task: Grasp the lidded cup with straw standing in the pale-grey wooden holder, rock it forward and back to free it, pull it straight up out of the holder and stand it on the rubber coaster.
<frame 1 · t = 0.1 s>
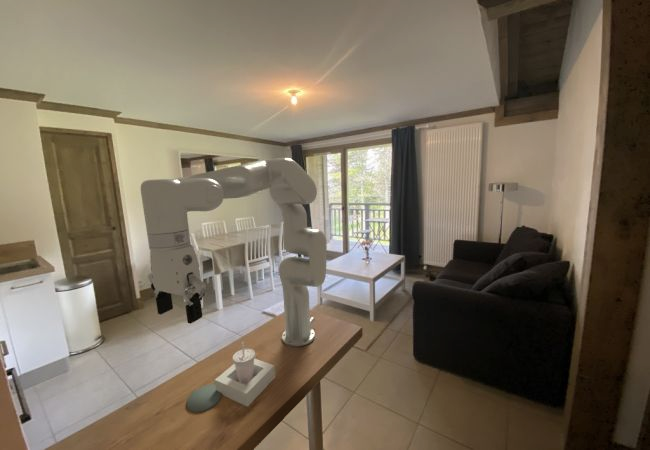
hand: (180, 315, 58), 31 cm above the table, fingers open, 9 cm apart
coaster: (204, 398, 75), on the table
holder: (246, 384, 80), on the table
lidded cup with straw: (246, 384, 80), resting in holder
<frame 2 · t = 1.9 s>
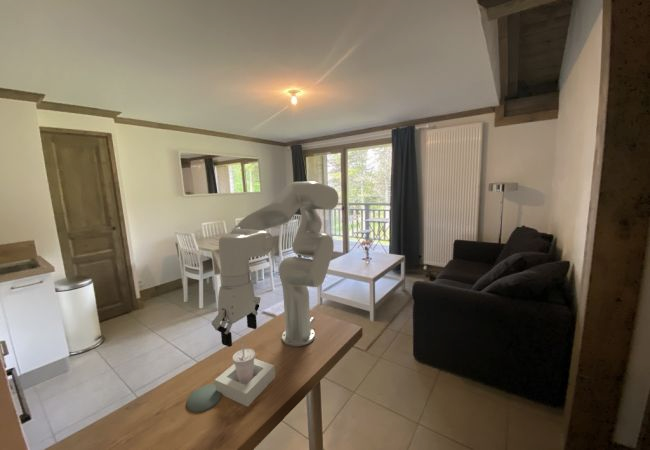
hand: (240, 336, 76), 16 cm above the table, fingers open, 9 cm apart
nothing on the table moved.
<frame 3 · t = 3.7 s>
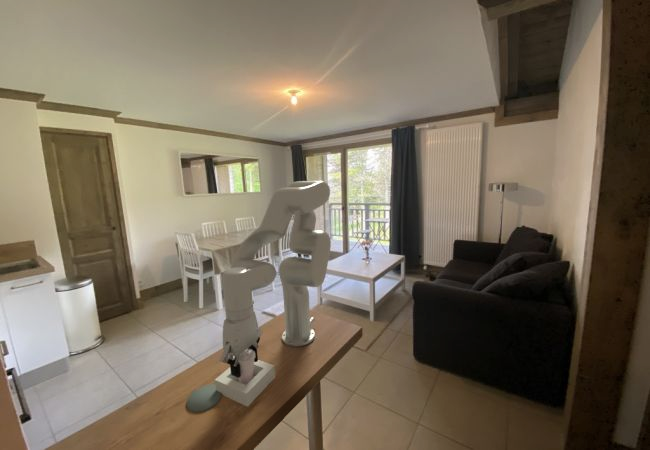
hand: (244, 367, 79), 6 cm above the table, fingers closed on lidded cup with straw, 6 cm apart
lidded cup with straw: (246, 384, 80), resting in holder, touching gripper
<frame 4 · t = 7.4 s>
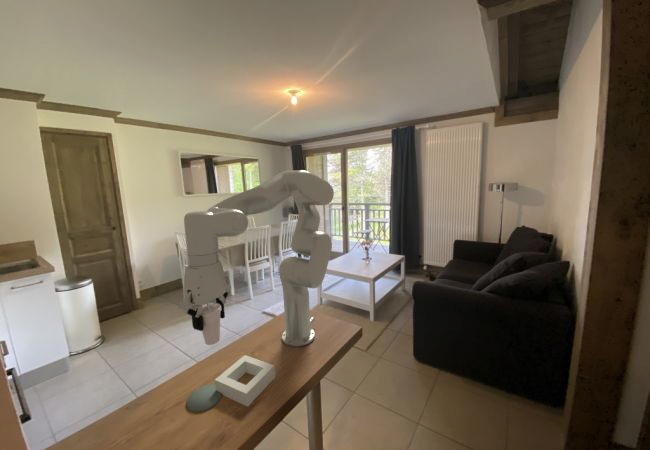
hand: (209, 322, 72), 22 cm above the table, fingers closed on lidded cup with straw, 6 cm apart
lidded cup with straw: (212, 341, 73), point 17 cm above the table, touching gripper
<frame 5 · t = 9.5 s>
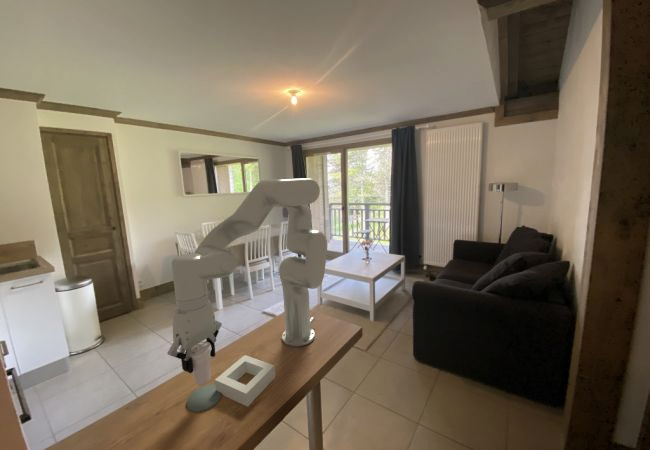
hand: (200, 362, 73), 11 cm above the table, fingers closed on lidded cup with straw, 6 cm apart
lidded cup with straw: (203, 380, 74), point 6 cm above the table, touching gripper
when the fingers open (7 cm above the table, at t = 11.2 s): lidded cup with straw drops 1 cm, resting on coaster.
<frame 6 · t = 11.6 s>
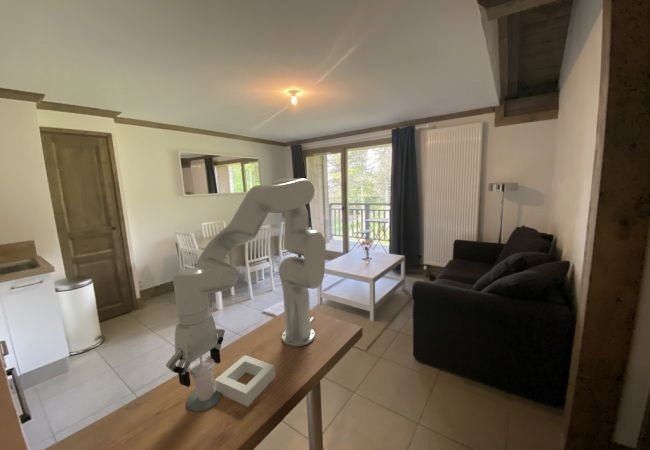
hand: (201, 372, 74), 8 cm above the table, fingers open, 9 cm apart
lidded cup with straw: (206, 396, 75), resting on coaster
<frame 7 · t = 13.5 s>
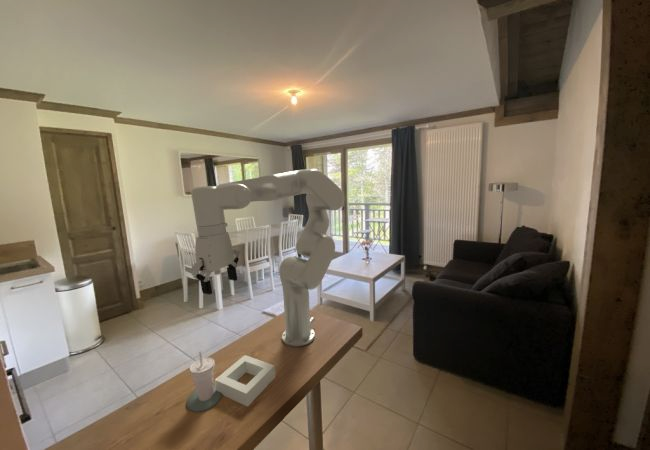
hand: (220, 286, 79), 29 cm above the table, fingers open, 9 cm apart
nothing on the table moved.
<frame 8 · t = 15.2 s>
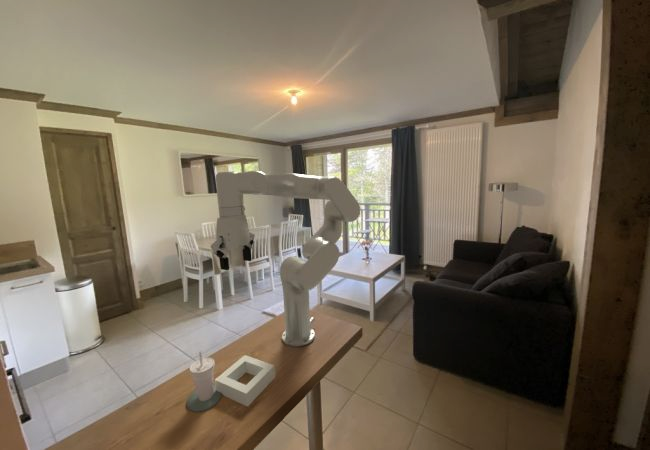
hand: (236, 264, 86), 33 cm above the table, fingers open, 9 cm apart
nothing on the table moved.
at the end: lidded cup with straw inside the target area on the coaster (0.4 cm from its centre), point 0.4 cm above the coaster's base; lidded cup with straw tilted 0°; the gripper is holding nothing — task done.
